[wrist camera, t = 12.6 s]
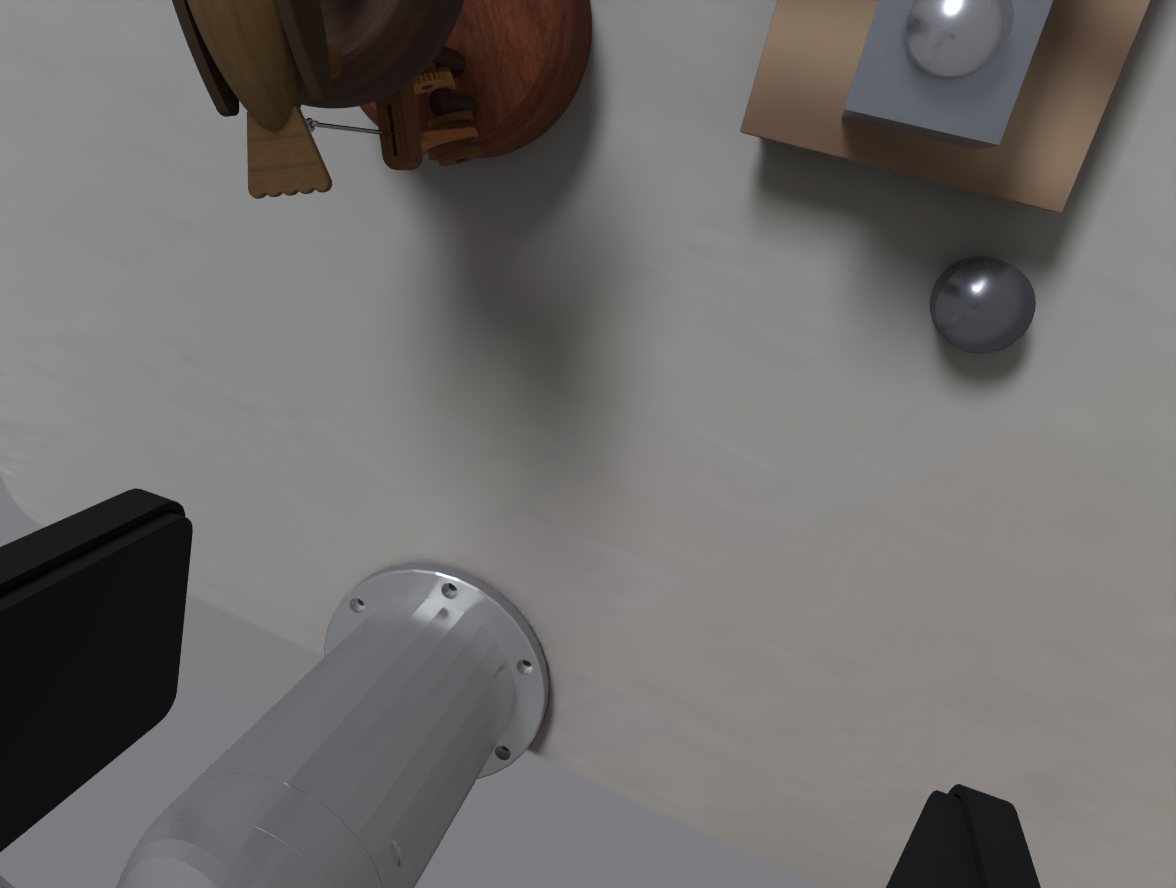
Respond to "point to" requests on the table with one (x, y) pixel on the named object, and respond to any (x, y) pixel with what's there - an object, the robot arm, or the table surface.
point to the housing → (945, 67)
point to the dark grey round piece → (982, 304)
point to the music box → (387, 75)
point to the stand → (1008, 171)
